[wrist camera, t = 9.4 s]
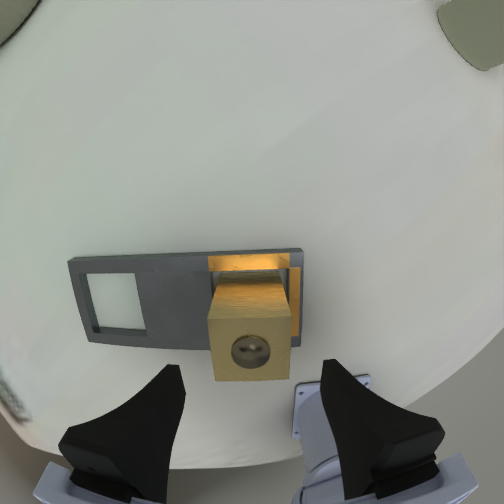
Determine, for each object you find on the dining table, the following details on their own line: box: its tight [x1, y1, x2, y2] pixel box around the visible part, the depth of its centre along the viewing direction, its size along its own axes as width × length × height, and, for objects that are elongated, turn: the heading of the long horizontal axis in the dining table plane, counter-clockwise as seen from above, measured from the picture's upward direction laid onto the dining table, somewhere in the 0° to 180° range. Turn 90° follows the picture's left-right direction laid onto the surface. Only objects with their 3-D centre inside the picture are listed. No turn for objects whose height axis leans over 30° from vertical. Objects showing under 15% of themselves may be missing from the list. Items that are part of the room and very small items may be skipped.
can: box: [438, 0, 504, 71], centre depth 9 cm, size 9×9×12 cm
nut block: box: [207, 271, 292, 381], centre depth 18 cm, size 4×4×8 cm
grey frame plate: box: [67, 248, 304, 350], centre depth 21 cm, size 8×20×1 cm, turn 92°
